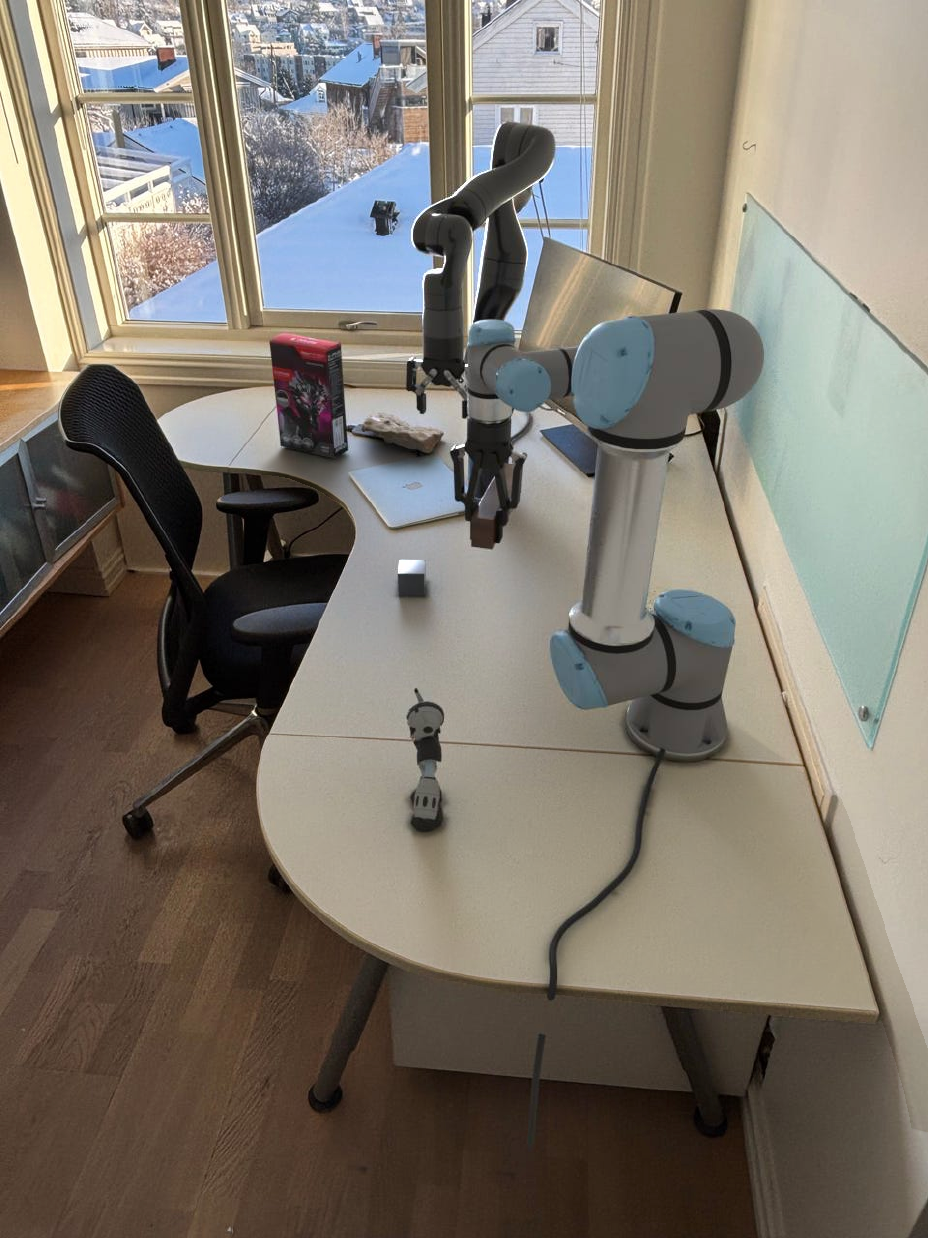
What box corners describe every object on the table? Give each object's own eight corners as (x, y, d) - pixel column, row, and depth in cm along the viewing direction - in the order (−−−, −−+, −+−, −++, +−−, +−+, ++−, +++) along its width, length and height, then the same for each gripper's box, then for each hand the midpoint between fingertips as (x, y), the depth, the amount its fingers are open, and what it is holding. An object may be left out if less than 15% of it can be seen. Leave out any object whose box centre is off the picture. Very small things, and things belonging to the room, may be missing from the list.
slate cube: (424, 596, 175) (424, 573, 172) (398, 595, 175) (397, 573, 172) (425, 582, 179) (425, 560, 176) (400, 582, 179) (399, 559, 176)
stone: (345, 437, 230) (349, 413, 227) (367, 428, 243) (371, 405, 241) (423, 461, 226) (429, 437, 224) (441, 451, 239) (446, 428, 237)
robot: (446, 864, 120) (446, 749, 109) (409, 865, 120) (405, 750, 109) (442, 761, 137) (441, 652, 126) (409, 762, 136) (405, 652, 125)
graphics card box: (278, 447, 232) (266, 338, 217) (294, 437, 237) (284, 331, 222) (334, 460, 225) (326, 350, 210) (350, 450, 230) (343, 341, 215)
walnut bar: (492, 549, 165) (493, 520, 162) (470, 546, 166) (471, 517, 163) (521, 492, 184) (522, 464, 181) (501, 490, 185) (502, 462, 182)
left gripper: (486, 327, 170) (484, 411, 179) (412, 321, 173) (415, 404, 182) (475, 340, 164) (474, 426, 173) (399, 333, 167) (402, 418, 176)
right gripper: (543, 413, 156) (536, 534, 169) (446, 402, 160) (447, 522, 173) (534, 429, 150) (527, 554, 163) (434, 418, 154) (435, 541, 167)
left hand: (443, 414), depth 178 cm, fingers open, 8 cm apart
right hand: (486, 537), depth 168 cm, fingers closed on walnut bar, 4 cm apart
